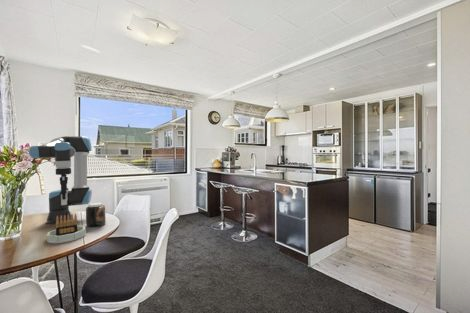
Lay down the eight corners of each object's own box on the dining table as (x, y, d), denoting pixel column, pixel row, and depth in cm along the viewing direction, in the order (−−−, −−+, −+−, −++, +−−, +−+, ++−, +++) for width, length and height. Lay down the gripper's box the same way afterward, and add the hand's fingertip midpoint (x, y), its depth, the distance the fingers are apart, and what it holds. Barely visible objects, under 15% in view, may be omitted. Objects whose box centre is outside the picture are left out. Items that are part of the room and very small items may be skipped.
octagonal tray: (48, 235, 139) (48, 229, 139) (85, 229, 150) (85, 223, 150) (44, 246, 124) (44, 239, 124) (86, 238, 135) (86, 231, 135)
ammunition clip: (55, 236, 133) (55, 216, 133) (56, 235, 135) (55, 215, 134) (77, 232, 139) (77, 213, 139) (77, 231, 141) (77, 212, 141)
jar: (84, 228, 152) (84, 206, 152) (87, 223, 163) (87, 203, 163) (104, 226, 157) (104, 204, 157) (106, 221, 168) (106, 201, 168)
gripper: (56, 166, 145) (57, 199, 145) (54, 169, 124) (55, 207, 125) (71, 166, 149) (72, 198, 150) (70, 168, 129) (72, 205, 129)
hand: (64, 202), depth 137 cm, fingers open, 13 cm apart
